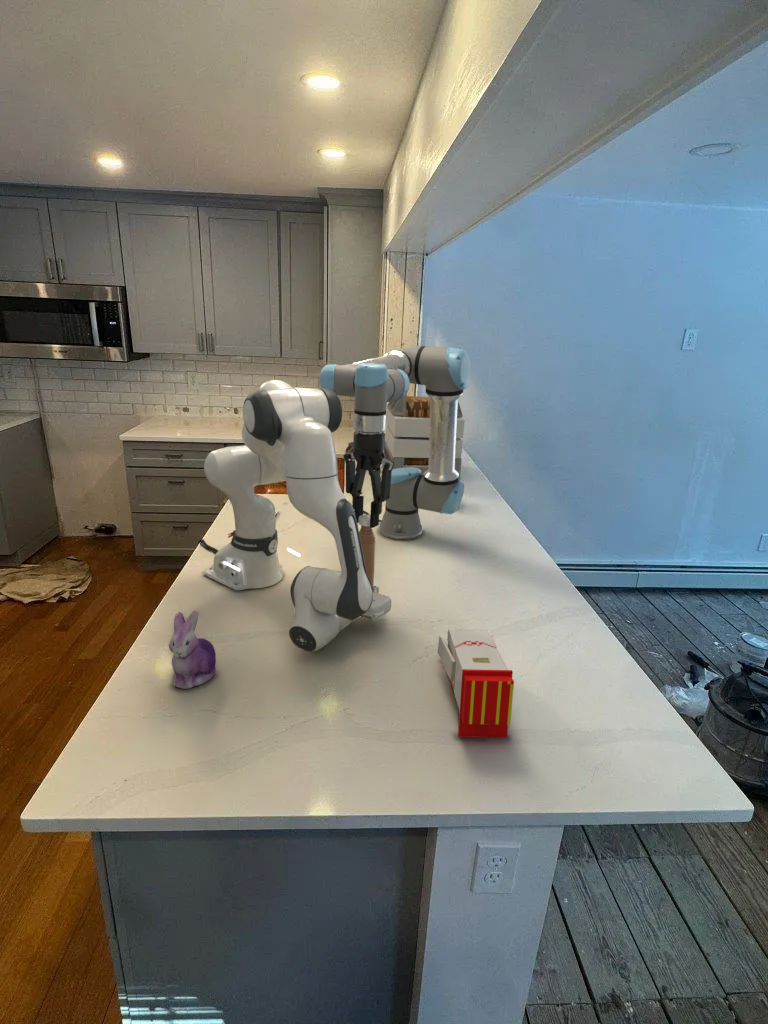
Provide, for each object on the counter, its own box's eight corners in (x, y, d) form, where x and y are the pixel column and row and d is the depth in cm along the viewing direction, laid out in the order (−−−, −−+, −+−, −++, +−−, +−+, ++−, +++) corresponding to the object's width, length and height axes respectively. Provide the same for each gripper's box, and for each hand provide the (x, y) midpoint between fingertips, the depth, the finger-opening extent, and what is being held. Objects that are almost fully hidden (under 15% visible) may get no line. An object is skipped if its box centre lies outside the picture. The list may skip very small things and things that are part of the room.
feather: (286, 506, 225) (288, 502, 225) (268, 529, 199) (271, 525, 198) (282, 503, 225) (284, 499, 225) (264, 526, 199) (267, 522, 198)
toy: (488, 613, 130) (523, 677, 101) (484, 667, 133) (517, 744, 104) (435, 612, 130) (455, 676, 101) (432, 666, 133) (451, 743, 103)
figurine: (175, 696, 113) (169, 631, 108) (168, 668, 121) (161, 606, 116) (223, 684, 117) (219, 621, 112) (213, 658, 126) (208, 598, 120)
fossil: (345, 440, 315) (366, 425, 310) (356, 453, 318) (377, 439, 313) (338, 454, 296) (361, 438, 291) (350, 468, 298) (372, 452, 293)
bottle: (359, 614, 146) (362, 524, 138) (351, 605, 150) (353, 518, 142) (375, 610, 149) (379, 522, 140) (367, 602, 153) (370, 515, 144)
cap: (356, 524, 140) (356, 518, 140) (361, 519, 144) (361, 513, 143) (371, 527, 139) (371, 521, 139) (376, 522, 143) (376, 515, 142)
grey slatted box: (382, 463, 289) (386, 382, 275) (445, 464, 293) (451, 384, 279) (390, 482, 257) (394, 392, 243) (460, 483, 261) (468, 394, 247)
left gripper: (377, 608, 131) (402, 584, 143) (303, 586, 139) (332, 566, 151) (376, 631, 133) (401, 606, 145) (303, 609, 142) (332, 587, 153)
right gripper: (409, 434, 132) (403, 527, 140) (350, 424, 141) (348, 512, 149) (391, 439, 126) (386, 536, 134) (330, 428, 135) (329, 519, 143)
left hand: (365, 585), depth 148 cm, fingers closed on bottle, 5 cm apart
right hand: (366, 523), depth 141 cm, fingers open, 4 cm apart
